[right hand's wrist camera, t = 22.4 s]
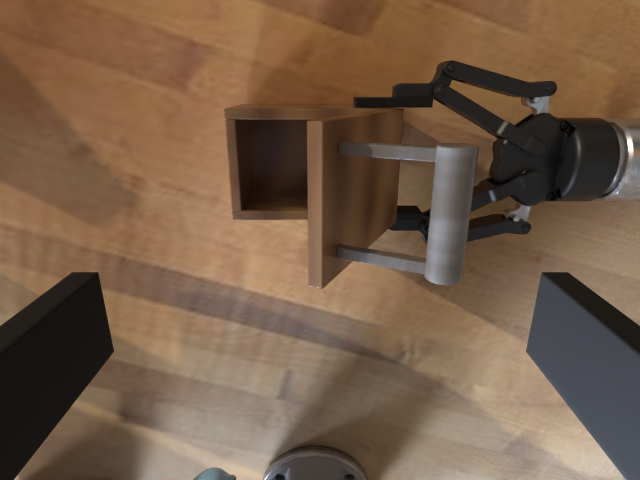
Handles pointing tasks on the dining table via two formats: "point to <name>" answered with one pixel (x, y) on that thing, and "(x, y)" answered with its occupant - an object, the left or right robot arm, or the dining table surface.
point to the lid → (381, 196)
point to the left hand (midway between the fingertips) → (353, 160)
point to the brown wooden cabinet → (273, 157)
